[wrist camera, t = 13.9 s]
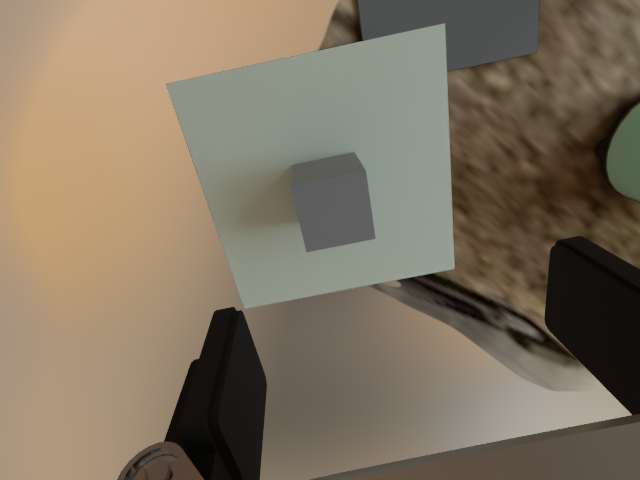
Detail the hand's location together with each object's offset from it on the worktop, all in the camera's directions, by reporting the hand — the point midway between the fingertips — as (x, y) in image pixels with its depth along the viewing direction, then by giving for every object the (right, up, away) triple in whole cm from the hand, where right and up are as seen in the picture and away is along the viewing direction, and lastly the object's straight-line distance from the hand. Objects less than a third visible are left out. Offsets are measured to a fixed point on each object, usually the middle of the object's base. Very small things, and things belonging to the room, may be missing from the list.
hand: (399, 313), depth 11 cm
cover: (-3, +14, +30) cm, 33 cm away
